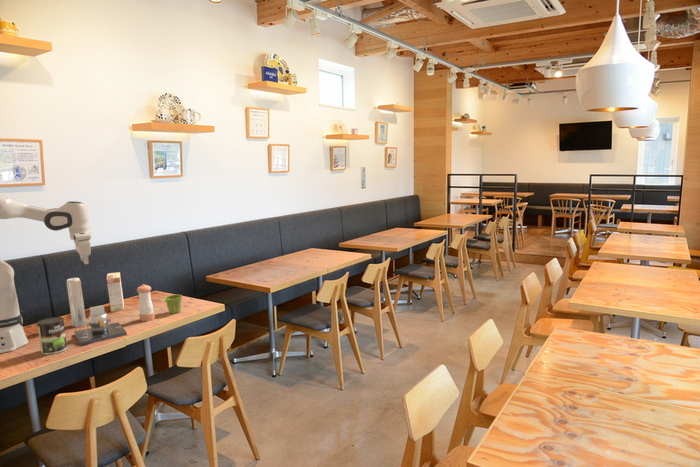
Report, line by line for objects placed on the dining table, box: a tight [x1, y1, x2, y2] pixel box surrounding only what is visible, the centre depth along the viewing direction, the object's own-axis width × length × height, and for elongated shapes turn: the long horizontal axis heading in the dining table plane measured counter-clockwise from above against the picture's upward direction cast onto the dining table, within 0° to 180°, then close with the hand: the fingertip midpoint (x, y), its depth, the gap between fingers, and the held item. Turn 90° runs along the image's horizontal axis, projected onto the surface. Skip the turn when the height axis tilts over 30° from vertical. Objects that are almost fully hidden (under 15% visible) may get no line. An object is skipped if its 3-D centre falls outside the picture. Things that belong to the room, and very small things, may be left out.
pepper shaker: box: [136, 283, 156, 322], centre depth 253 cm, size 7×7×19 cm
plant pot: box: [163, 294, 183, 314], centre depth 264 cm, size 9×9×9 cm
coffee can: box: [36, 316, 68, 356], centre depth 215 cm, size 10×10×14 cm
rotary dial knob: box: [86, 304, 112, 328], centre depth 231 cm, size 14×10×9 cm
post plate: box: [74, 321, 128, 346], centre depth 234 cm, size 20×19×5 cm
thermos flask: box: [66, 277, 88, 328], centre depth 248 cm, size 6×6×25 cm
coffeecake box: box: [106, 271, 125, 313], centre depth 277 cm, size 15×7×20 cm, turn 25°
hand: (84, 262), depth 232 cm, fingers open, 8 cm apart
